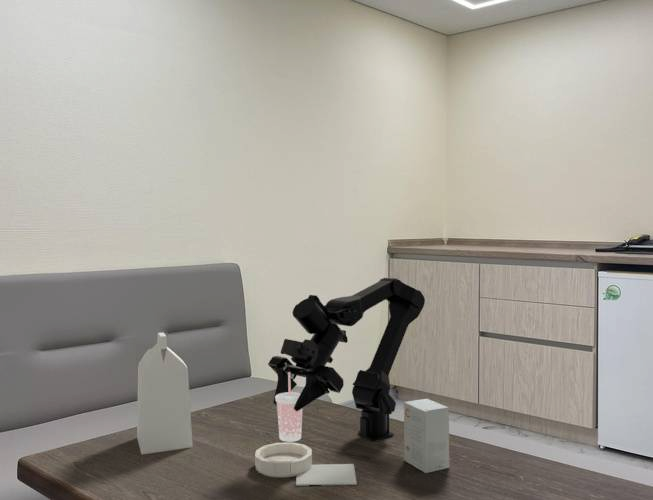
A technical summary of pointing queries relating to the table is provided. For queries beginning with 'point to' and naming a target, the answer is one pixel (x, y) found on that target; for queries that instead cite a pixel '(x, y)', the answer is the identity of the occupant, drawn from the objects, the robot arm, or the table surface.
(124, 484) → the table surface
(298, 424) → the beverage cup
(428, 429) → the small box
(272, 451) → the bowl
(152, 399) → the milk
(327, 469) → the mat
